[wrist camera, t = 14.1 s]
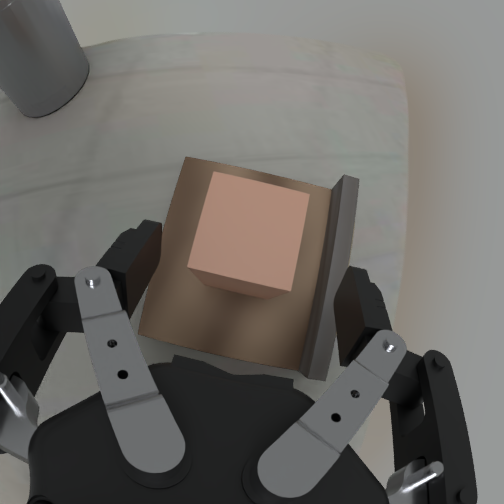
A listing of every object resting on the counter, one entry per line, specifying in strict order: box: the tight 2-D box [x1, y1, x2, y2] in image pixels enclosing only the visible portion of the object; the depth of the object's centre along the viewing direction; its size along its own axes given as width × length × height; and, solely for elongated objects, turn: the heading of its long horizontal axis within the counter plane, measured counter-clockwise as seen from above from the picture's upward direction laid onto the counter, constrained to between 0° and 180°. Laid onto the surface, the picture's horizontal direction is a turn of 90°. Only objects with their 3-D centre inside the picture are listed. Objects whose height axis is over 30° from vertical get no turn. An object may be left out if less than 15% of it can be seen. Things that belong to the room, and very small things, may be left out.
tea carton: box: [187, 171, 310, 299], centre depth 19 cm, size 5×5×9 cm
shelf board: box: [138, 157, 359, 381], centre depth 22 cm, size 13×14×4 cm
